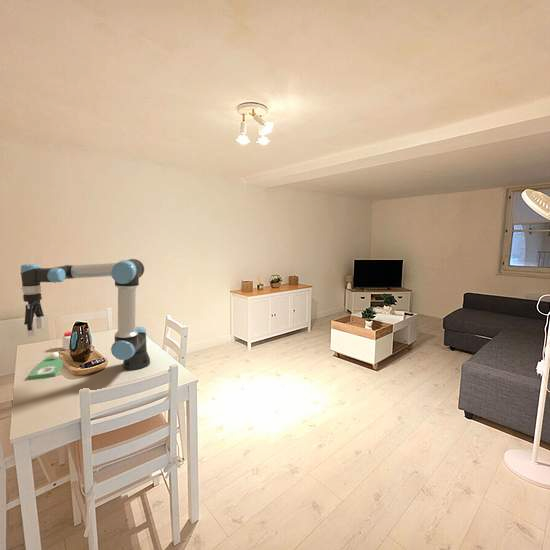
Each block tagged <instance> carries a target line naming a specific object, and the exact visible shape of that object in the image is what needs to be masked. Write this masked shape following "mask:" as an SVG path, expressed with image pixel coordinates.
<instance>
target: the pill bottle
mask: <svg viewBox="0 0 550 550" xmlns="http://www.w3.org/2000/svg"><path fill="white" fill-rule="evenodd" d="M71 332H72V331H66V332H64V333H63V335H62V337H61V340H62V350H63V349H68V348H69V342H70V336H71Z"/></svg>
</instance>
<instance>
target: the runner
mask: <svg viewBox="0 0 550 550" xmlns="http://www.w3.org/2000/svg"><path fill="white" fill-rule="evenodd" d="M62 366H63V367H64V365H63V362H62V360H61V359H60V357H58V358H57V359H51V357H50V356H49V355H48V356H46V357H45V358H44V359H43V360H42V361H41V362H40V363H39V365H37V367H36V368H34V370H33V371H32V372H30V373H29V375H28V380H29V381H31V380H38V379H43V378H45V379H47V378H52V377H54V378H55V377H56V376H57V374H59V372H60V371H61V369H62V368H63V367H62Z"/></svg>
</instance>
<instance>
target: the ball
mask: <svg viewBox="0 0 550 550" xmlns="http://www.w3.org/2000/svg"><path fill="white" fill-rule="evenodd" d="M59 355H60V353H59V352H58V351H54V352H51V354H50V357H51V359H57V358H58V357H59Z"/></svg>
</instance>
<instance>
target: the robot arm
mask: <svg viewBox="0 0 550 550" xmlns="http://www.w3.org/2000/svg"><path fill="white" fill-rule="evenodd" d="M144 273H145V265H144V264H143V262H142V261H140V260H139V259H136V258H130V259H122V260H119V261H118V262H109V263H107V262H106V263H94V264H93V263H91V264H75V265H72V264H65V265H61V266H55V267H40V265H39V264H37V263H28V264H21V265H20V276H21V283H22V284H21V290H22V294H23V295H22V298H23V299H22V300H23V302H25V303H27V304H26V305H25V313H24V314H25V315H24V323H23V324H24V325H26V331H27V333H26V335H27V337H34V336H35V335H36V334H35V327H36V330H40V329H44V326H43V325H44V324H43V317H45V314H44V312H43V308H42V304H41V300H42V289H41V288H42V287H41V283H54V284H55V283H62V282H64V280H68V279H69V280H70V279H85V278H87V279H88V278H104V277H105V278H106V277H111V278H112V279H113V280H114V286H115V287H116V288H117V332H115V333H114V342H113V344H112V345H111V348H110V351H111V354H112V356H113V357H115V358H116V359H117V360H119V361H122V368H123V369H125V370H128V371H133V370H134V371H135V370H142V369H144V368H146V367H148V366H150V364H151V358H150V356H149V353H148V350H147V330H146V328H145V327H143V326H136V297H137V296H136V293H137V292H136V288H137V287H139V285H140V284H139V283H140V278H141V277H142V276H143V274H144ZM35 316H36V317H35ZM34 319H35V325H34Z"/></svg>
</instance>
